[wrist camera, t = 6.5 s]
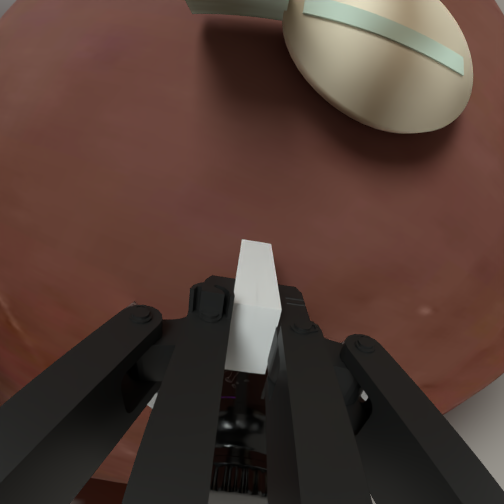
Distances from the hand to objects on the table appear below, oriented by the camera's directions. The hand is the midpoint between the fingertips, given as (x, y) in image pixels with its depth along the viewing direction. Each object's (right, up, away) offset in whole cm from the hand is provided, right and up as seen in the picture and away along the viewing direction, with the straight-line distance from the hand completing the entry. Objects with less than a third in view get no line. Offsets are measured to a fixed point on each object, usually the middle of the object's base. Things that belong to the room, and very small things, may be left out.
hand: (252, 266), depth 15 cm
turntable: (+5, +13, -4) cm, 15 cm away
